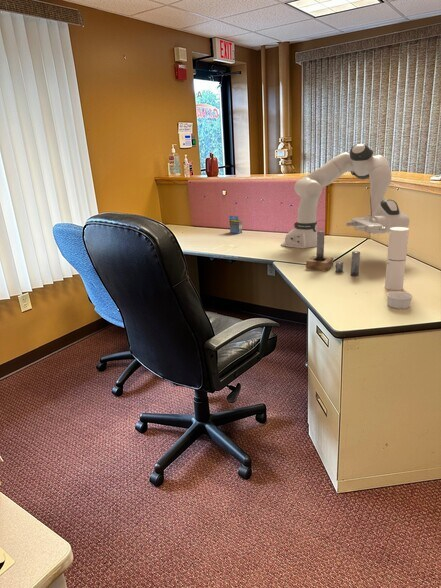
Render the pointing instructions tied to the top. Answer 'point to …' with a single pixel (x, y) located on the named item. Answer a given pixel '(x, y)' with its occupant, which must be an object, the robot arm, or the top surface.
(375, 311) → the top surface
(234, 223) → the label tape cartridge
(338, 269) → the short steel pin
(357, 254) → the medium steel pin
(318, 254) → the tall steel pin
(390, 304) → the ramekin
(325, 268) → the walnut collar block
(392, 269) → the cylindrical container
